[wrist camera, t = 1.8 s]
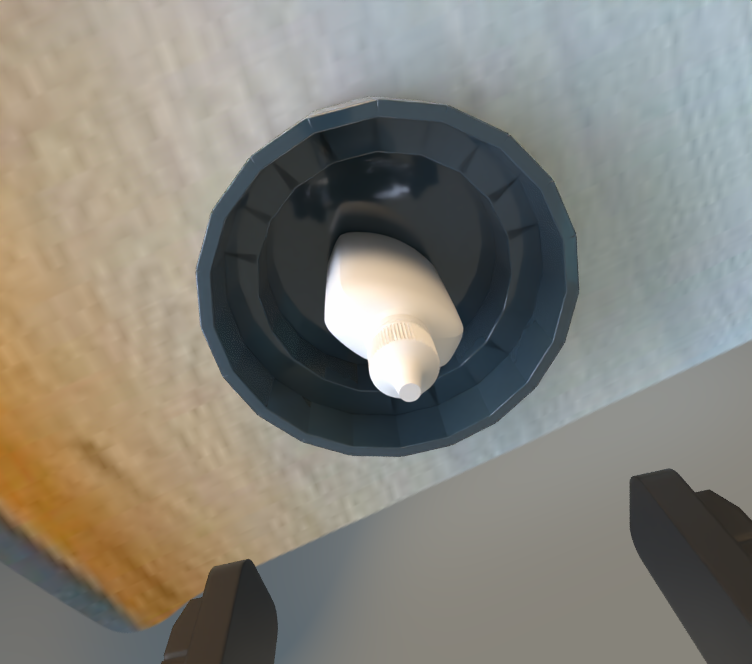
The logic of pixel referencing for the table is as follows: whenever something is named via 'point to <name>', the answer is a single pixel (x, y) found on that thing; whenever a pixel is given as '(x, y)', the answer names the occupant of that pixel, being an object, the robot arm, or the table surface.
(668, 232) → the table surface
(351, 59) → the table surface
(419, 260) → the eye dropper bottle
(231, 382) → the bowl
